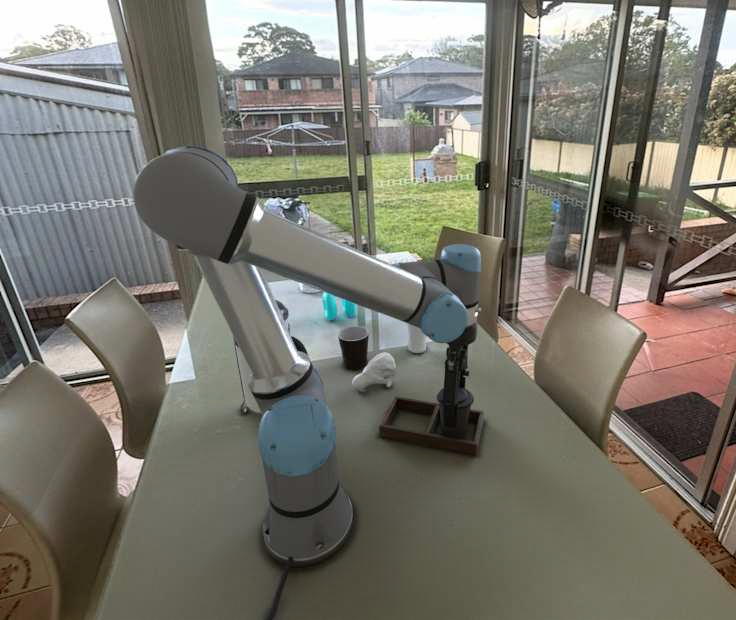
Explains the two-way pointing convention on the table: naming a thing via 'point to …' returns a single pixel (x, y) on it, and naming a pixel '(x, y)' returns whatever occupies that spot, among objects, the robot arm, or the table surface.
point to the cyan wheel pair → (331, 307)
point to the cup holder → (429, 427)
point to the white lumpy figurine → (376, 372)
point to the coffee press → (246, 371)
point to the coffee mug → (354, 346)
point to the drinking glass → (415, 339)
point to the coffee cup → (464, 406)
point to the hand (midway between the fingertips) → (454, 413)
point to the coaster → (307, 289)
